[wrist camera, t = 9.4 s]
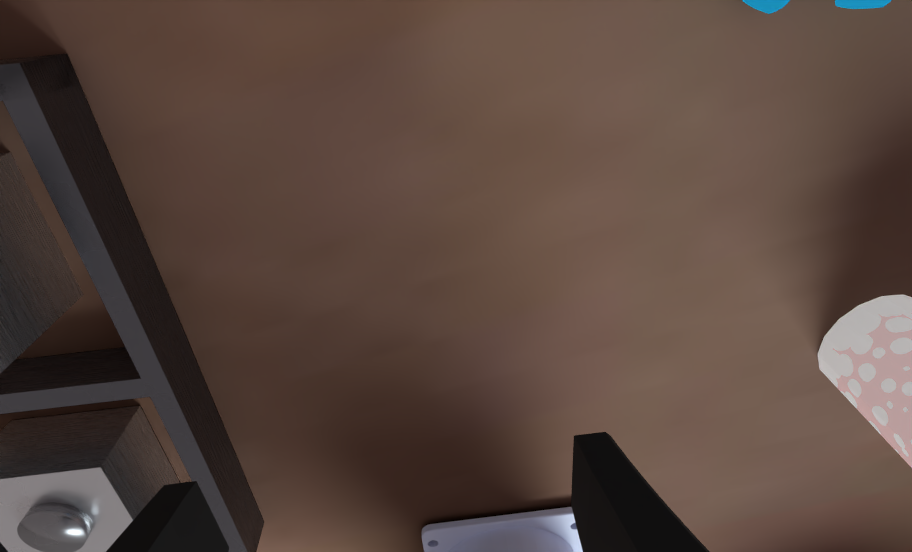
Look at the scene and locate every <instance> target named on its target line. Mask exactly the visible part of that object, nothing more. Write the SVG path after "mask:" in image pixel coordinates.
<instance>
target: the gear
mask: <svg viewBox="0 0 912 552" xmlns="http://www.w3.org/2000/svg"><path fill="white" fill-rule="evenodd" d="M742 1H743V2H745V3H746V4H747V5H749V6H751V7H753V8H755V9H757V10H760V11H762V12H765V13H768V14H770V13H773V12H776V11H778V10H779V9H781V8H783V7H784V6H785V5H786V4H787V3H788V2H789V1H790V0H742ZM890 1H891V0H835V5H836V6H838V7H842V8H850V9H867V8H879V7H884V6H885V5H887V4H888V3H889V2H890Z"/></svg>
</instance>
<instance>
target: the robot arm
mask: <svg viewBox="0 0 912 552" xmlns="http://www.w3.org/2000/svg"><path fill="white" fill-rule="evenodd" d="M571 506H572V507H564V508H556V509H548V510H540V511H532V512H524V513H516V514H508V515H500V516H492V517H484V518H476V519H467V520H459V521H451V522H443V523H435V524H429V525H426V526H425V527H423V529H422V543H423V548H424V552H709V551H708V550H707V548H706V547H705V546H704V545H703V544H702V543H701V542H700V541H699V540H698V539H697V538H696V537H695V536H694V535H693V533H692V532H691V531H690V530H689V529H688V528H687V527H686V526H685V525H684V524H683V522H682V521H681V520H680V519H679V518H678V517H677V516H676V515H675V514H674V513H673V511H672V510H671V509H670V508H669V507H668V506H667V505H666V504H665V502H664V501H663V500H662V499H661V498H660V497H659V495H658V494H657V493H656V492H655V491H654V490H653V488H652V487H651V486H650V485H649V484H648V482H647V481H646V480H645V479H644V478H643V476H642V475H641V474H640V473H639V472H638V470H637V469H636V468H635V467H634V465H633V464H632V463H631V462H630V460H629V459H628V458H627V457H626V455H625V454H624V453H623V452H622V450H621V449H620V448H619V446H618V445H617V444H616V442H615V441H614V440H613V438H612V437H611V436H610V435H609V434H607V433H606V432H601V433H592V434H584V435H576V436H574V447H573V472H572V497H571ZM106 552H229V546H228V544H227V542H226V540H225V538H224V536H223V534H222V532H221V530H220V528H219V525H218V523H217V521H216V519H215V517H214V515H213V513H212V511H211V509H210V507H209V505H208V503H207V501H206V499H205V497H204V495H203V493H202V491H201V489H200V487H199V485H198V483H197V481H193V482H184V483H176V484H168V485H164V486H163V487H162V488H161V489H160V490H159V491H158V492H157V494H156V495H155V496H154V497H153V498H152V499H151V500H150V501H149V503H148V504H147V505H146V506H145V507H144V508H143V509H142V511H141V512H140V513H139V514H138V515H137V516H136V517H135V519H134V520H133V521H132V522H131V523H130V524H129V526H128V527H127V528H126V529H125V530H124V531H123V532H122V534H121V535H120V536H119V537H118V538H117V539H116V540H115V542H114V543H113V544H112V545H111V546H110V547H109V549H108V550H107V551H106Z"/></svg>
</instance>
